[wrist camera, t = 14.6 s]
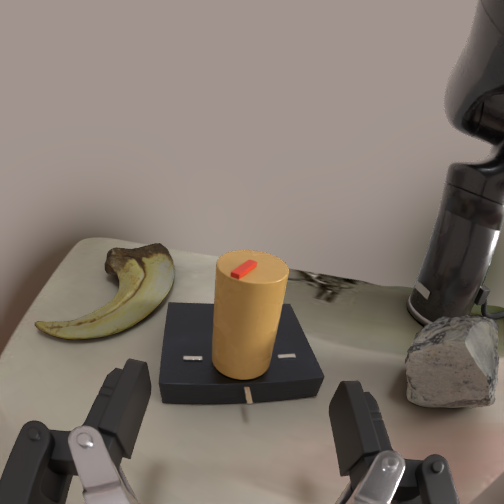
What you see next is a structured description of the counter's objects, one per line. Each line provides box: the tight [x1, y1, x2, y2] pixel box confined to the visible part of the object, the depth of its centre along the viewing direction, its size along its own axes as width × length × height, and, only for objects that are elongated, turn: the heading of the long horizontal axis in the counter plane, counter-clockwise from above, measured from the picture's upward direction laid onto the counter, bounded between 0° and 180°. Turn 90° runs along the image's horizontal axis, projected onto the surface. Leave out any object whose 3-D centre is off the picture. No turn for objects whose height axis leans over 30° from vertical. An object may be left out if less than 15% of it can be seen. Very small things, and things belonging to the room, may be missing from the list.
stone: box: [405, 315, 499, 408], centre depth 18 cm, size 10×10×10 cm
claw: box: [35, 243, 175, 339], centre depth 29 cm, size 20×10×3 cm, turn 171°
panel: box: [159, 302, 324, 404], centre depth 22 cm, size 12×12×3 cm
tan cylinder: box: [212, 250, 289, 380], centre depth 19 cm, size 4×4×8 cm
